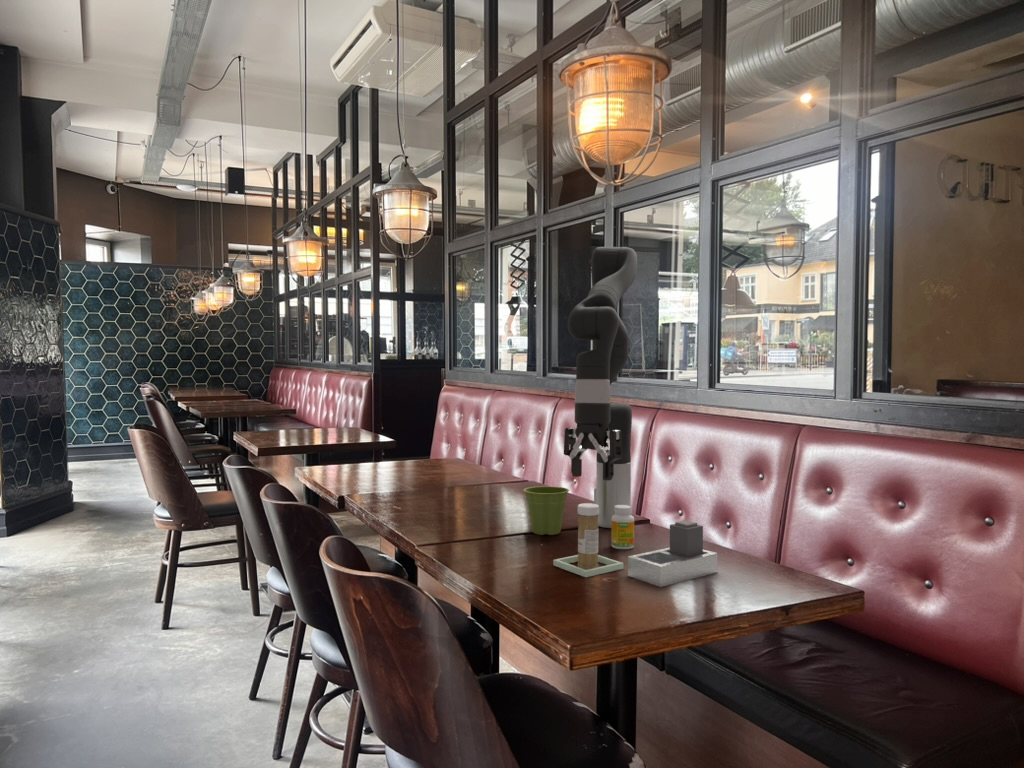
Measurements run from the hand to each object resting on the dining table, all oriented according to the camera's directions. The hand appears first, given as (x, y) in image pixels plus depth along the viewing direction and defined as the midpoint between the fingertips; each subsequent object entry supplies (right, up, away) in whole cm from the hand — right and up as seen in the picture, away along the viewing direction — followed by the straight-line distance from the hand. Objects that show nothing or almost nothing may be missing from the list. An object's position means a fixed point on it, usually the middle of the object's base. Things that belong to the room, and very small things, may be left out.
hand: (591, 478), depth 147 cm
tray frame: (0, -19, +3) cm, 20 cm away
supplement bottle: (+10, -19, +20) cm, 29 cm away
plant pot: (-8, -19, +34) cm, 40 cm away
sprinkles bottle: (0, -20, +3) cm, 20 cm away
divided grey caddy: (+17, -20, -2) cm, 26 cm away
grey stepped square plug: (+20, -20, 0) cm, 28 cm away
